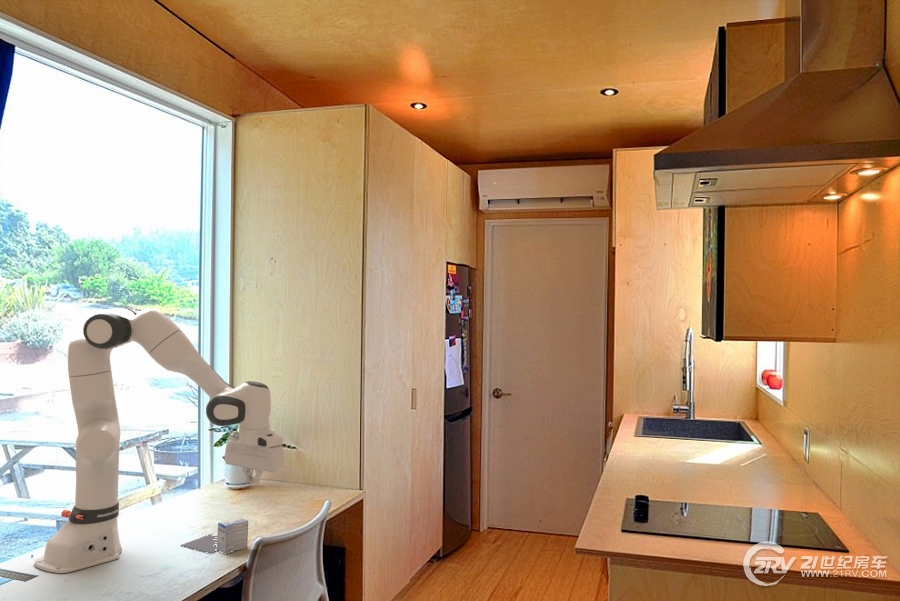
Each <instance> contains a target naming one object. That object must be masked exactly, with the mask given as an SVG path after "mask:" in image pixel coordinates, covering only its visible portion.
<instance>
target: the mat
mask: <svg viewBox="0 0 900 601" xmlns="http://www.w3.org/2000/svg"><path fill="white" fill-rule="evenodd" d="M210 534H211V535H210ZM207 535H208V536H207ZM212 535H214V533H213V534H212V533H209V534H206V535H204V536H201V537H198V538H199V539H198V538H196V539H194V540H190V541H188V542H185V543H183V544H180V547H182V546H184V547H183V548H186V547H188V548H187V549H190V548H191V549H190V550H193V549H196V550H195V551H197V550H199V551H198V552H201V551H203V552H202V553H205V552H208V553H211V552H213V551H215V549H217V547H216V545H214V544H217V543H215V542H217V540H213V539H217V538H215V537H217V536H218V535H217V536H212ZM213 545H214V546H213ZM208 553H207V554H208ZM213 553H214V552H213ZM211 554H212V553H211Z"/></svg>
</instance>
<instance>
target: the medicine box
mask: <svg viewBox="0 0 900 601" xmlns="http://www.w3.org/2000/svg"><path fill="white" fill-rule="evenodd" d="M248 537H249V520H248V519H246V518H244V517H241V516H239V517H235V518H232V519H231V518H230V519H227V520H223V521H220V522H218V523H217V550H218V551H221V552H223V553H224V554H223V555H226V554H225V553H228V552H231V551H235V550H238V551H240V550H239V549H241V550H244V549H243V548H245V549H248V543H249V542H248V541H249V540H248V539H249V538H248ZM218 551H217V552H218ZM235 552H236V551H235ZM228 554H229V553H228Z"/></svg>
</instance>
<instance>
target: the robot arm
mask: <svg viewBox="0 0 900 601" xmlns="http://www.w3.org/2000/svg"><path fill="white" fill-rule="evenodd" d="M82 332H83V333H82V335H79V336H77V337H75V338H73V339H72V340H71V341H70V342H69V344H68V349H67V371H68V380H69V386H70V395H71V401H72V402H71V403H72V407H73V411H74V415H75V420H76V421H75V422H76V425H77V432H78V433H77V436H76V440H75V501H74V504H75V505H73V507H72V510H68V509H63V510H62V511H61V512H60V515H61V517H63V518H66V519H68V521H67V522H66V523H65V524H64V525H63V526H62V527H61V528H60V529H59V530H58V531H57V532H55V534H53V535H52V536H51V537H50V538H49V539H48V540H47V541H46V544H45V549H44V554H43V556H41V557H39V558H36V559H35V560H34V567H36V568H38V569H39V570H43V571H45V572H48V573H49V572H50V573H55V574H68V573H71V572H75V571H78V570H82V569H86V568H90V567H93V566H97V565H101V564H104V563H107V562H108V563H109V562H112V561H115V560H118V559H119V558H120V555H119V554H121V552H122V551H123V548H122V545H121V541H120V535H119V534H120V533H119V527H118V526H119V524H118V517H119V513H120V502H119V501H118V499H119V498H118V497H119V473H120V472H119V468H120V467H119V465H120V443H121V442H120V440H121V428H120V421H119V413H118V407H117V402H116V395H115V388H114V380H113V379H114V378H113V373H112V366H111V365H112V364H111V353H112V350H113V349H114V348H115V349H116V348H118V347H121V346H123V345H126V344H128V343H131V342H134V343H137V344H139V345H140V346H141V347H142V348H143V349H144V350H145V351H146V353H147V354H148V355H149V356H150V357H151V358H152V359H153V360H154V361H155V362H156V363H157V364H158V365H160V366H161V367H162V368H163V369H165V370H167V371H169V372H174V373H179V374H181V375H185V376H186V377H188V378H190V379H192V380H193V382H195V383H196V385H198V387H200V388H201V390H202V391H204V392H205V394H206V395H207V396H209V398H210V400H209V401H208V402H207V405H206V407H205V414H206V417H207V420H208V421H210V422H209V423H211V424H213V425H215V426H218V427H227V426H232V425H236V424H237V425H238V426H239V428H238V433H234V432H233V433H231V434H229V435H228V436H227V439H226V440H227V443H226V445H225V451H224V460H223V461H224V462H225V464H226V465H229V466H233V467H234V466H235V467H240V468H241V467H242V472H243V474H244V477H245V483H246V484H248V483H249V484H252V485H259V484H260V482H261V477H262V475H263V473H264V472H267V473H273V474H274V473H275V474H276V473H279V472H281V471H283V469H284V465H285V452H284V448H283V446H282V445H283V444H284V441H285V440H284V437H283V436H282V435H279V434H277V433H276V432H274V431H273V430H272V429H271V424H270V423H271V422H270V416H271V415H270V414H271V412H272V410H271V409H272V400H271V399H272V398H271V397H272V396H271V390H270V388H269V386H267V384H265V383H263V382H258V381H249V380H248V381H244V382H243V383H242V384H240V385H238V386H236V387H234V386H232V385H231V384H229V383H227V382H226V381H225V380H224V379H223V378H222V377H221V376H220V375H219V374H218V373H217V372H216V371H215V370H214V369H213V368H212V367H211V366H210V365H209V364H208V362H207V361H205V359H204V357H203V356H202V355H201V354H200V353H199V352H198V350H197V349H196V348H195V346H194V344H193V342H191V340H190V339H189V338H188V336H186V334H185V333H184V332H183V330H181V329H180V327H179V326H178V325H177V324H176V323H175V322H174V321H173V320H172V319H171V318H170V317H168V316H167V315H166V314H165V313H163V312H162V311H160V310H159V309H158V308H153V307H151V308H146V309H143V310H141V311H140V312H139V313H137V312H136V311H134V310H133V309H131V308H128V307H112V308H107V309H105V310H102V311H98V312H95V313H94V314H92V315H91V316H89V317H88V318H87V319H86V320H85V323H84V325H83V328H82ZM251 470H254V474H255V475H254V476H253V475H252V472H251Z"/></svg>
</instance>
